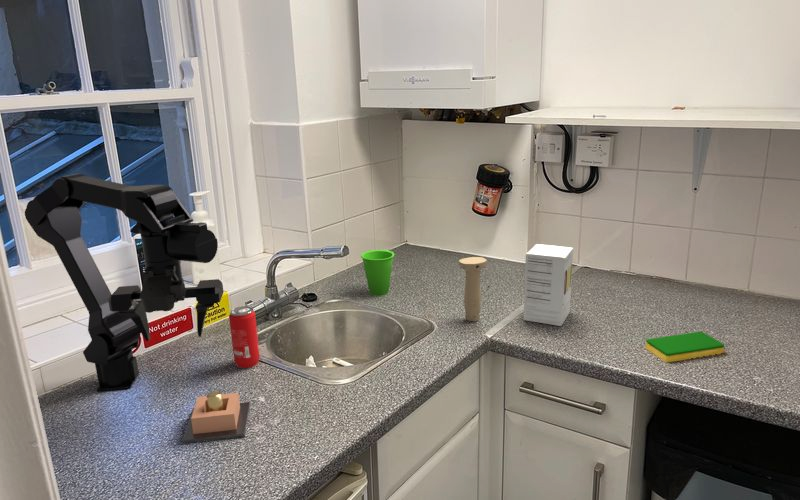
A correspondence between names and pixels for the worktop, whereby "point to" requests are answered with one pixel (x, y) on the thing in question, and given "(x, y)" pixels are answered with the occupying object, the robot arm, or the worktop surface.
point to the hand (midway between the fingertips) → (174, 338)
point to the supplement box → (548, 284)
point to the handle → (472, 286)
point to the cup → (378, 270)
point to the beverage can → (244, 337)
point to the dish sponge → (684, 346)
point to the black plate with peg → (217, 405)
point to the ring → (216, 415)
